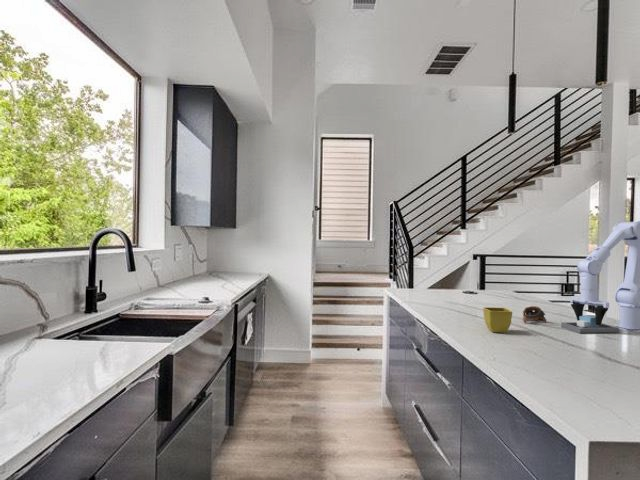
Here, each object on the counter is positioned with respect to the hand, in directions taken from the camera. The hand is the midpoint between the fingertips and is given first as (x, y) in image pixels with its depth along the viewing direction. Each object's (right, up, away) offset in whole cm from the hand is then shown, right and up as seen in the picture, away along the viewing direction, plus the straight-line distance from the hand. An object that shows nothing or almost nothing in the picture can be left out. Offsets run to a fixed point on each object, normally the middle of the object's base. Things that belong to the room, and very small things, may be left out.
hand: (589, 322), depth 164 cm
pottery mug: (-14, -3, +16) cm, 21 cm away
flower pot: (-38, -3, -2) cm, 38 cm away
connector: (0, -2, 0) cm, 2 cm away
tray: (0, -3, 0) cm, 3 cm away
